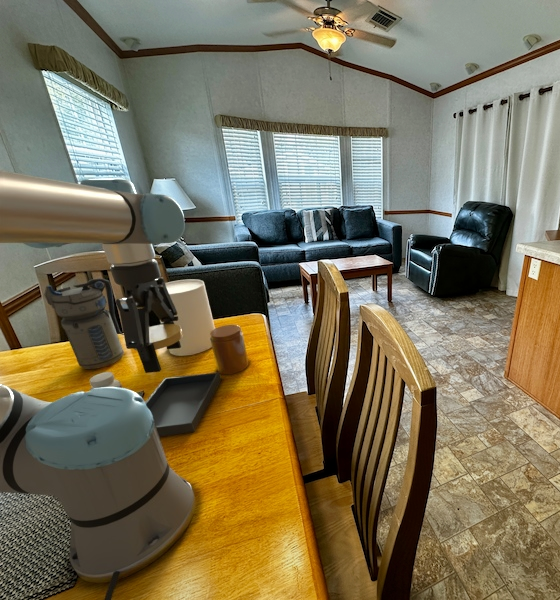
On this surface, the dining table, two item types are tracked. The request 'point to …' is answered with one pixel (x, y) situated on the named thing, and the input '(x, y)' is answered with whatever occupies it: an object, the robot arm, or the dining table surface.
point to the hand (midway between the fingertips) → (164, 358)
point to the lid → (164, 335)
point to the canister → (191, 315)
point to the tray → (181, 402)
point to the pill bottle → (104, 381)
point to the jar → (229, 349)
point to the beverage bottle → (88, 322)
